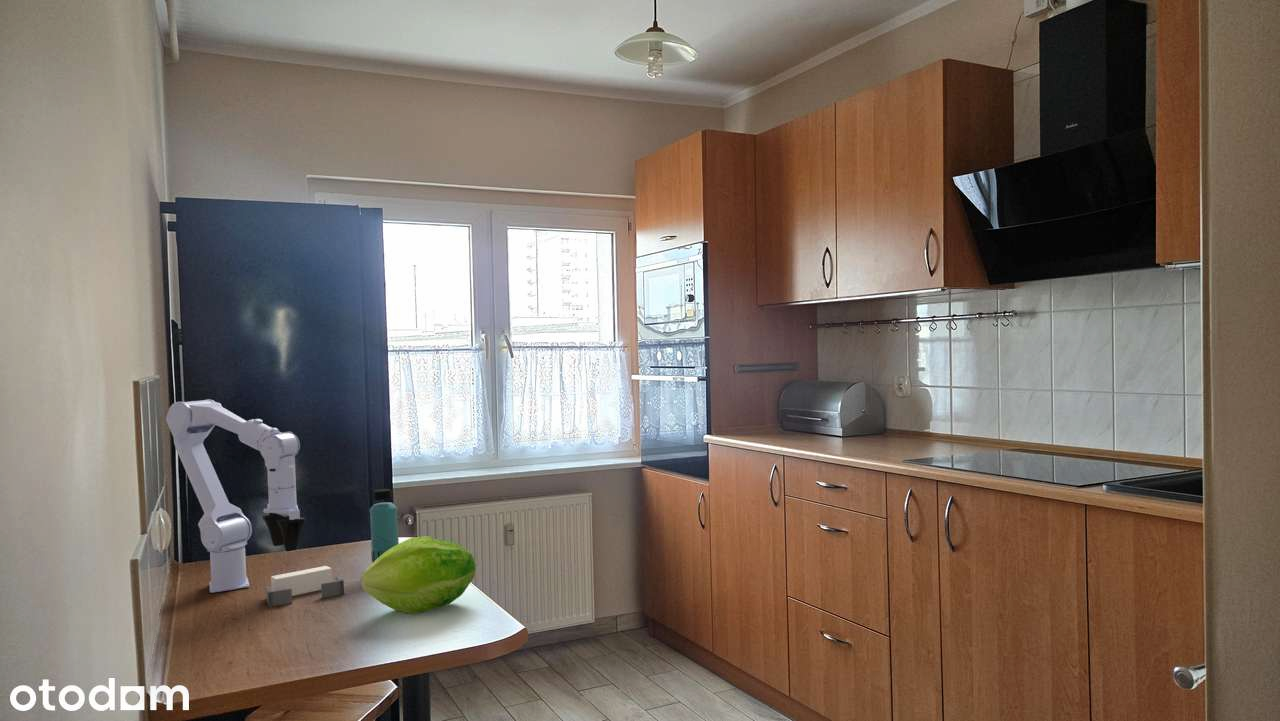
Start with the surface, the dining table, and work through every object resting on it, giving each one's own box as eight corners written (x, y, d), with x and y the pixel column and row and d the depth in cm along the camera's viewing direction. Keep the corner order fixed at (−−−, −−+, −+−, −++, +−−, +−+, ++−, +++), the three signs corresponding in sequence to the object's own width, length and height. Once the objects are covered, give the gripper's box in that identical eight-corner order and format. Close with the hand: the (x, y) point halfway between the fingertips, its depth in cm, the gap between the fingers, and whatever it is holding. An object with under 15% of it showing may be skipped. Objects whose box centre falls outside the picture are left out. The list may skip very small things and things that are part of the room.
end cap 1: (266, 600, 179) (265, 586, 179) (289, 596, 181) (288, 582, 181) (268, 606, 174) (268, 592, 173) (292, 603, 176) (291, 588, 176)
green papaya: (374, 627, 154) (356, 617, 167) (490, 603, 165) (465, 596, 179) (368, 547, 155) (350, 544, 169) (484, 529, 167) (459, 528, 180)
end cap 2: (318, 591, 184) (317, 578, 184) (339, 588, 186) (339, 574, 186) (322, 597, 179) (321, 584, 179) (344, 594, 181) (343, 580, 181)
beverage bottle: (404, 569, 200) (401, 486, 200) (394, 577, 193) (390, 491, 193) (378, 570, 201) (375, 487, 201) (367, 577, 194) (363, 492, 194)
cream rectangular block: (271, 596, 182) (270, 576, 182) (326, 585, 190) (326, 565, 190) (276, 600, 179) (275, 579, 179) (332, 588, 187) (331, 568, 187)
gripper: (252, 486, 188) (255, 546, 189) (275, 492, 178) (277, 556, 178) (284, 482, 193) (287, 540, 193) (308, 488, 183) (311, 549, 183)
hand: (284, 547), depth 186 cm, fingers open, 7 cm apart
